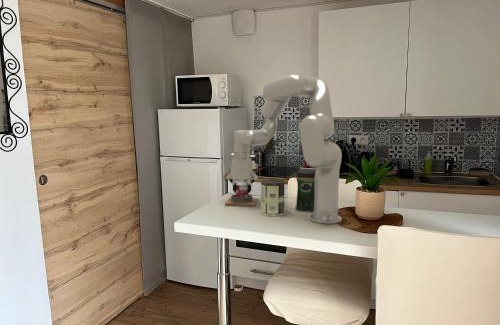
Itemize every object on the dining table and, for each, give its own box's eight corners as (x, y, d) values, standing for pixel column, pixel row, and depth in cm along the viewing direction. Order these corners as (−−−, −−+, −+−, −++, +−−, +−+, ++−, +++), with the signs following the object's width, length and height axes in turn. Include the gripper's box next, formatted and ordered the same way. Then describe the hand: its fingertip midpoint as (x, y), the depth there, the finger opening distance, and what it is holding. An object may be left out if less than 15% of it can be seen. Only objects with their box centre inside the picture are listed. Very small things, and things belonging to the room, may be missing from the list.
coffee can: (277, 209, 166) (278, 178, 165) (288, 215, 157) (289, 182, 155) (257, 211, 162) (257, 180, 161) (266, 217, 153) (266, 183, 151)
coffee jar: (318, 208, 169) (319, 168, 167) (316, 212, 161) (317, 170, 159) (297, 206, 172) (298, 167, 170) (294, 210, 164) (295, 169, 162)
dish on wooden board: (254, 206, 171) (254, 199, 171) (225, 205, 173) (225, 198, 173) (257, 200, 185) (257, 193, 185) (230, 199, 187) (230, 192, 186)
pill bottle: (235, 198, 182) (235, 176, 180) (247, 198, 182) (247, 176, 181) (236, 201, 175) (236, 178, 174) (249, 200, 176) (249, 178, 175)
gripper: (222, 156, 174) (223, 193, 176) (259, 156, 172) (259, 194, 174) (225, 154, 181) (226, 190, 183) (260, 155, 179) (260, 191, 181)
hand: (242, 192), depth 178 cm, fingers closed on pill bottle, 6 cm apart
